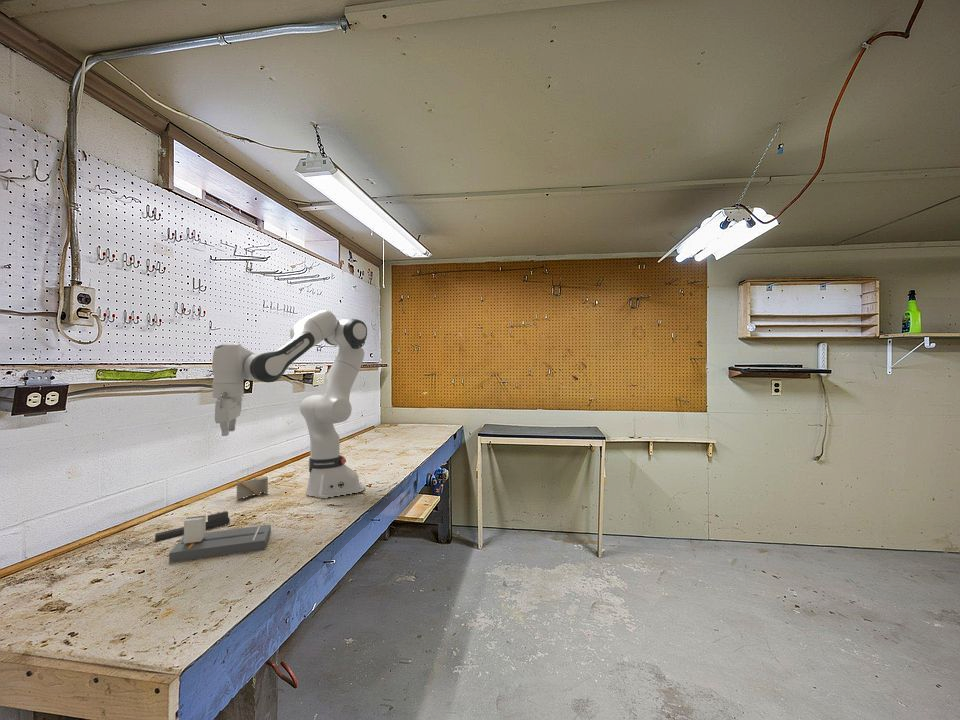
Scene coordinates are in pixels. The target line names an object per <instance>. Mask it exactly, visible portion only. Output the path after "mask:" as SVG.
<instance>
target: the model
mask: <svg viewBox="0 0 960 720" xmlns="http://www.w3.org/2000/svg"><path fill="white" fill-rule="evenodd" d="M260 492H265V493H268V492H269V478H268V476H266V475H260V476H255V477H254V478H252V479H250V480H249V479H248V480H245V481H239V480H237V483H236V500H237V499H240V498H243V497H246V496H250V495H253V494H257V495H256V496H260V495H259V493H260ZM265 493H264V494H265ZM260 494H261V493H260ZM253 496H254V495H253ZM250 497H251V496H250ZM243 499H244V498H243ZM240 500H241V499H240Z"/></svg>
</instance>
